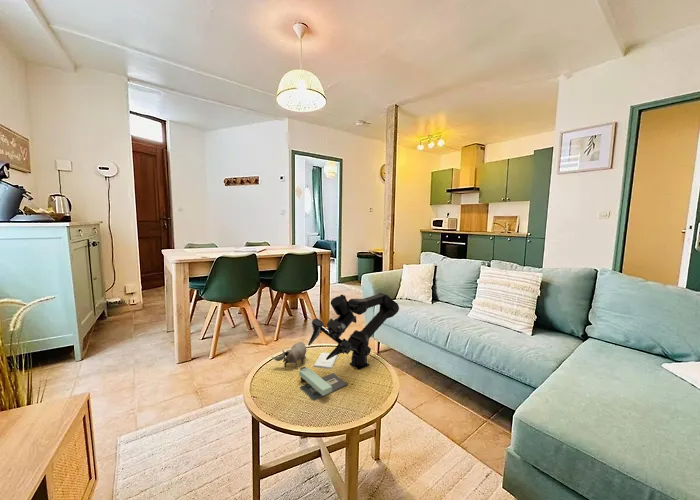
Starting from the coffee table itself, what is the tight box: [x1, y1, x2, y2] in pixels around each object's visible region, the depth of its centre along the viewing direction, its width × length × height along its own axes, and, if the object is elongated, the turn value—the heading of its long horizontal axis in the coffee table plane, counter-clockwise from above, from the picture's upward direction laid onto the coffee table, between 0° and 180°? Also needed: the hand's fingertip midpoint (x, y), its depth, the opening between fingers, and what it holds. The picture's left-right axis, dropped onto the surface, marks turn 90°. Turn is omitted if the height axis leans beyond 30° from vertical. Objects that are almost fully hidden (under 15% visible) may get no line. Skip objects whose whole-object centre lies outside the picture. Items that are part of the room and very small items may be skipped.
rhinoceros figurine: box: [271, 341, 307, 370], centre depth 130 cm, size 8×14×15 cm
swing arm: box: [298, 366, 333, 397], centre depth 112 cm, size 18×4×2 cm, turn 39°
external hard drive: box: [313, 352, 339, 370], centre depth 134 cm, size 2×8×12 cm
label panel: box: [299, 373, 349, 402], centre depth 116 cm, size 16×15×2 cm
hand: (317, 352), depth 112 cm, fingers open, 9 cm apart
